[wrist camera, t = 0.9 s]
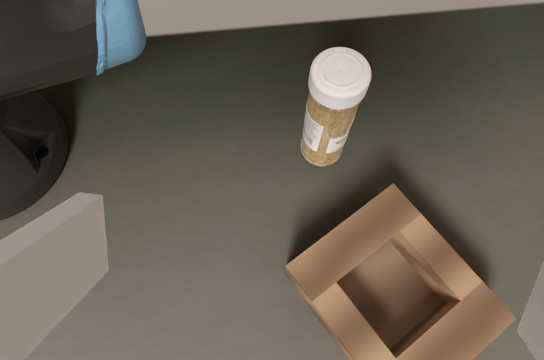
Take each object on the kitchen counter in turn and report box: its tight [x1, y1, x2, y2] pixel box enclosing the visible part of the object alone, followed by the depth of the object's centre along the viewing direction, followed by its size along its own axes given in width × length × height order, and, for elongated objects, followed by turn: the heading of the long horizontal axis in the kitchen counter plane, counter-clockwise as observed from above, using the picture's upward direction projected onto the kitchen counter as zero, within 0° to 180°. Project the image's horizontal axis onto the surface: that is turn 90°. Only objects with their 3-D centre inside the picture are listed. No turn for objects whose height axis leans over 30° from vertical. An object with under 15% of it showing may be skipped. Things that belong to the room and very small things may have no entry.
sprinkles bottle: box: [301, 47, 371, 166], centre depth 34 cm, size 5×5×13 cm
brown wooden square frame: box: [284, 184, 516, 360], centre depth 33 cm, size 14×12×5 cm
